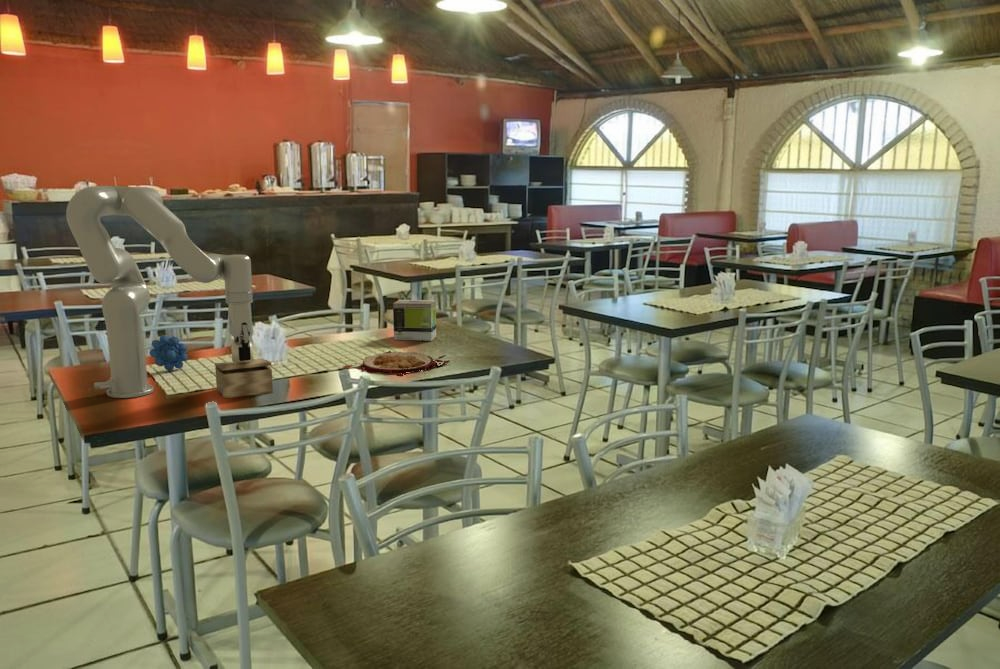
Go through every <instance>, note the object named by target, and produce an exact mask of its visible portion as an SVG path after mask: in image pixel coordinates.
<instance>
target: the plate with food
mask: <svg viewBox="0 0 1000 669" xmlns="http://www.w3.org/2000/svg"><path fill="white" fill-rule="evenodd" d="M444 357H446V354H444V355H443V354H442V355H441V356H439V357H437V358H436V359H434V358H433V357H431V356H430V355H426V354H424V353H423V354H422V353H418V352H410V351H408V352H405V351H404V352H402V351H401V352H399V351H398V352H397V351H393V352H392V351H391V350H388V351H386V352H383V353H377V354H375V355H370V356H369V355H368V356H366V357H365V358H364V359H363V361H362V364H361V365H360V366H356V367H354V366H355V365H354V364H357V365H358V363H357V362H356V363H354V364H350V365H347V364H346V365H342V367H343V368H344V369H345V368H347V370H351V368H354V369H356V370H359V371H362V372H364V371H365V372H366V373H370V374H374V373H375V374H376V373H378V372H380V374H388V373H402V375H403V374H404V375H406V374H408V373H406V372H411V373H412V371H417V372H419V370H420V371H421V370H424V371H425V369H429V370H428V371H430V370H431V368H435V367H436V368H437V367H438V365H437V364H436V362H435V361H437V362H444V363H443V364H442V366H444V365H445V364H448V363H450V359H449V360H444V361H443V360H442V359H443V358H444ZM433 360H435V361H433ZM439 364H441V363H439ZM431 365H432V366H431ZM438 368H439V367H438ZM397 375H398V374H397ZM402 375H401V374H399V375H398V376H402Z"/></svg>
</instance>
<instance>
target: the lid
mask: <svg viewBox="0 0 1000 669" xmlns="http://www.w3.org/2000/svg"><path fill="white" fill-rule="evenodd" d="M214 366H215V367H218V368H219V369H221V370H222V371H223V370H232V369H241V368H250V367H260V366H268V367H270V366H272V361H269V360H267V359H265V358H255V359H254V358H253V360H252V361H249V362H233V361H226V362H215V363H214Z"/></svg>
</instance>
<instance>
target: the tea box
mask: <svg viewBox="0 0 1000 669" xmlns="http://www.w3.org/2000/svg"><path fill="white" fill-rule="evenodd" d="M436 302H437V301H436V300H435V299H398V300H396V301H395V302H393V303H392V316H393V317H392V318H393V319H392V320H393V321H392V322H393V339H394V341H422V340H423V341H426V342H427V341H428V342H431V341H433V340H434V339H435V338H436V336H437V303H436Z"/></svg>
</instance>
